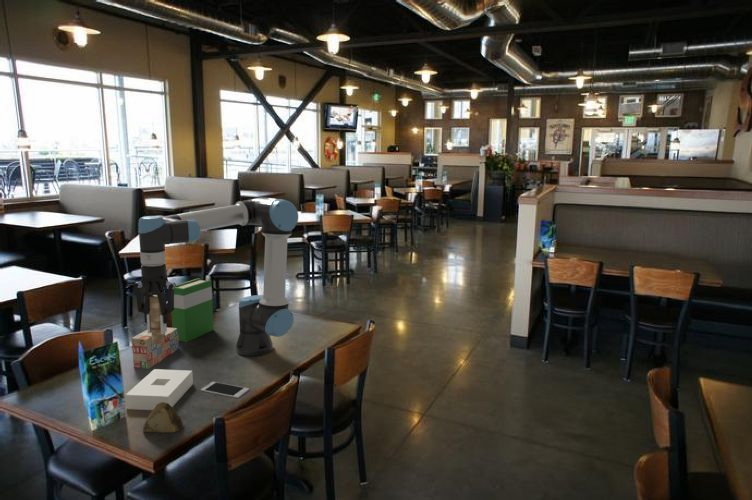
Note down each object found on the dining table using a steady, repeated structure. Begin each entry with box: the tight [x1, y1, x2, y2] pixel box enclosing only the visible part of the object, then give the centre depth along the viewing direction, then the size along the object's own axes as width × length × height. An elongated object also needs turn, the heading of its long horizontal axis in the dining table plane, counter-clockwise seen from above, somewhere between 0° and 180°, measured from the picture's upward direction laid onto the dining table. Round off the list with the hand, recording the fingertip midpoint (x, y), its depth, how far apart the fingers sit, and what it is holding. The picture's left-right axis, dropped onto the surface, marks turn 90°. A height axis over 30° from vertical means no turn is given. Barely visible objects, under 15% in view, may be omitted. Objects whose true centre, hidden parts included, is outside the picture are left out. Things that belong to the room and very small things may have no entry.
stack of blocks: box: [131, 326, 180, 370], centre depth 210 cm, size 21×6×12 cm, turn 168°
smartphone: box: [200, 381, 250, 399], centre depth 185 cm, size 7×16×1 cm, turn 70°
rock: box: [142, 402, 185, 433], centre depth 158 cm, size 11×9×10 cm
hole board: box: [125, 368, 194, 411], centre depth 179 cm, size 14×20×5 cm
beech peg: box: [149, 294, 164, 344], centre depth 175 cm, size 4×4×16 cm
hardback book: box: [170, 277, 214, 343], centre depth 236 cm, size 18×7×24 cm, turn 156°
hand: (157, 332), depth 175 cm, fingers closed on beech peg, 4 cm apart
